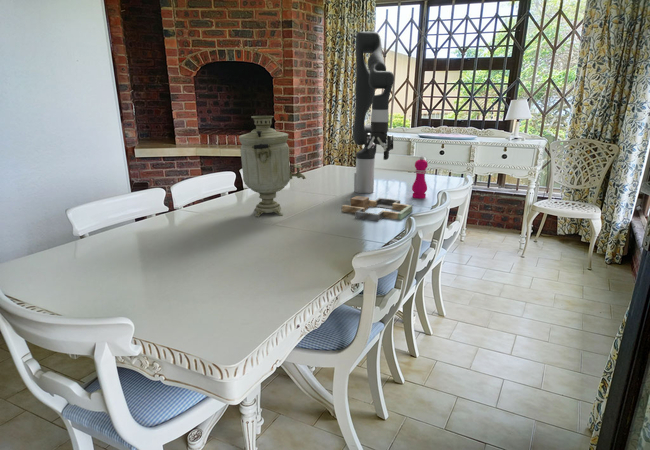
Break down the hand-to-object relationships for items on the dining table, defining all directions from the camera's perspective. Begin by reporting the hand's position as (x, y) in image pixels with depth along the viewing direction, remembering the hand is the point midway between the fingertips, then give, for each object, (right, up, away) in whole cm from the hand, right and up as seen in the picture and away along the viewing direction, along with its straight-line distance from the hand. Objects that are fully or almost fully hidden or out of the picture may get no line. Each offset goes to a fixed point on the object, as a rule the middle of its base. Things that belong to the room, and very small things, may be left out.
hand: (378, 158), depth 186 cm
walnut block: (-8, -22, +1) cm, 24 cm away
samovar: (-45, -24, -6) cm, 52 cm away
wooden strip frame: (-1, -23, -3) cm, 23 cm away
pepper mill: (+23, -16, +21) cm, 35 cm away
